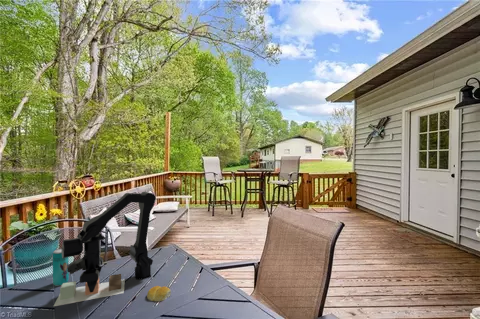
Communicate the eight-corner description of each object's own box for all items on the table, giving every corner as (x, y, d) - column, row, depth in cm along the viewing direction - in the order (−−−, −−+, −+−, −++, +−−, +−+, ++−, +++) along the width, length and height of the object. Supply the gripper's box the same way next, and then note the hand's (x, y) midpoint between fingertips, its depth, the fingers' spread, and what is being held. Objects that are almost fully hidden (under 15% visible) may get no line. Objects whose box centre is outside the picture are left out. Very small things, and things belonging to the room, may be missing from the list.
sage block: (75, 292, 106) (75, 281, 106) (73, 297, 102) (73, 286, 102) (63, 294, 104) (62, 283, 104) (60, 299, 100) (60, 288, 100)
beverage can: (60, 288, 111) (60, 253, 110) (49, 286, 112) (49, 252, 112) (71, 281, 116) (71, 248, 116) (61, 280, 117) (60, 247, 117)
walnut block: (121, 283, 113) (121, 273, 113) (120, 288, 108) (120, 278, 108) (109, 286, 111) (109, 275, 111) (108, 290, 107) (108, 280, 107)
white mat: (124, 280, 117) (124, 279, 117) (123, 294, 105) (123, 293, 105) (62, 291, 108) (62, 290, 108) (53, 308, 96) (53, 306, 96)
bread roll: (154, 291, 108) (154, 281, 108) (173, 293, 106) (173, 283, 106) (142, 301, 100) (142, 291, 100) (162, 304, 98) (162, 294, 98)
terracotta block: (99, 287, 109) (99, 277, 109) (98, 292, 105) (97, 282, 105) (87, 290, 108) (87, 279, 108) (85, 295, 103) (85, 284, 103)
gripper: (74, 247, 112) (74, 283, 112) (63, 263, 95) (63, 305, 95) (102, 243, 116) (103, 278, 116) (97, 258, 99) (98, 299, 99)
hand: (92, 289), depth 106 cm, fingers closed on terracotta block, 4 cm apart
